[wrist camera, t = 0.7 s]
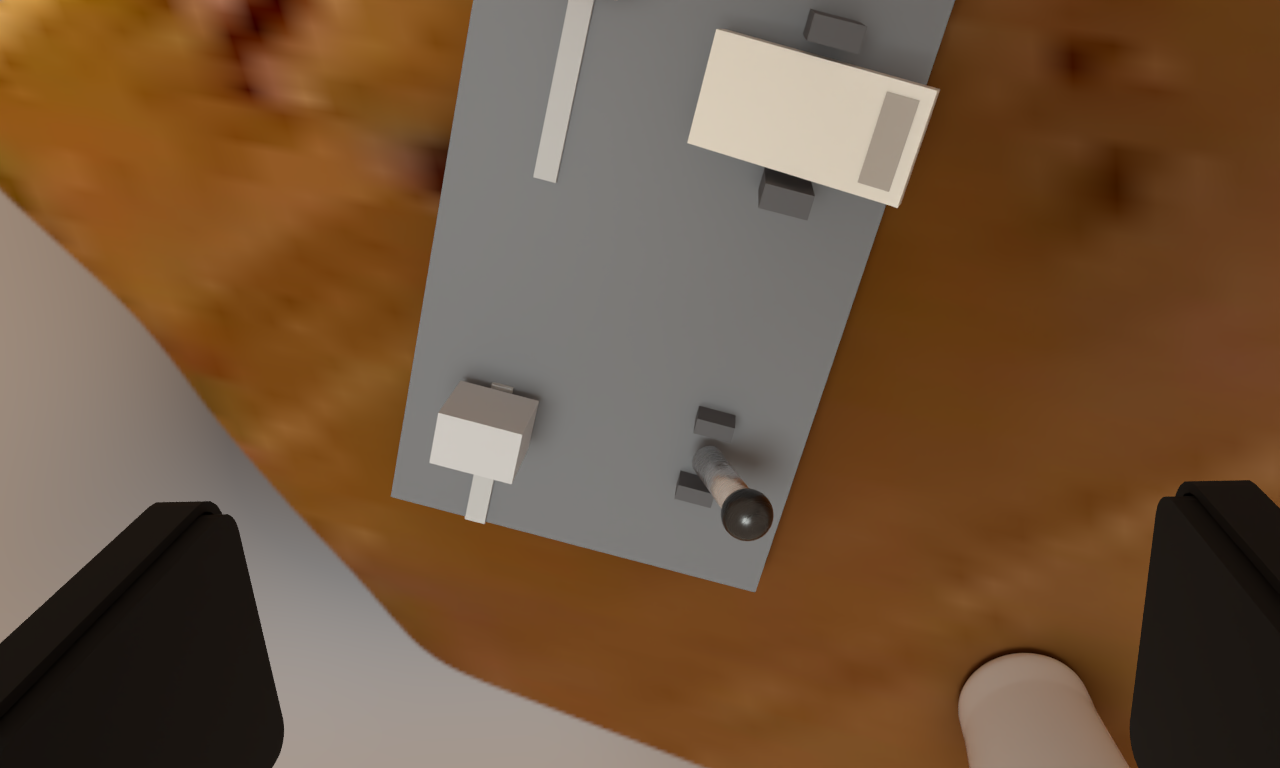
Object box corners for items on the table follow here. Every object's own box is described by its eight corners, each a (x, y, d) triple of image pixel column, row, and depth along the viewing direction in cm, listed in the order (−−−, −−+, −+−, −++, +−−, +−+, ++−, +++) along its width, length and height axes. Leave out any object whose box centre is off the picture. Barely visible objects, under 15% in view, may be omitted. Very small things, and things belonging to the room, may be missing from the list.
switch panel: (519, -189, 34) (484, -211, 30) (967, -72, 34) (999, -77, 30) (406, 473, 44) (366, 532, 39) (755, 565, 44) (755, 634, 39)
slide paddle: (460, 380, 39) (438, 412, 36) (538, 400, 39) (522, 434, 36) (451, 427, 40) (429, 462, 37) (528, 447, 40) (511, 484, 37)
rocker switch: (724, 28, 33) (715, 29, 32) (939, 89, 32) (937, 91, 31) (695, 140, 35) (686, 143, 34) (901, 202, 33) (897, 208, 32)
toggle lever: (691, 437, 38) (741, 505, 35) (734, 439, 39) (788, 507, 35) (679, 479, 39) (726, 551, 35) (722, 481, 40) (773, 551, 36)
